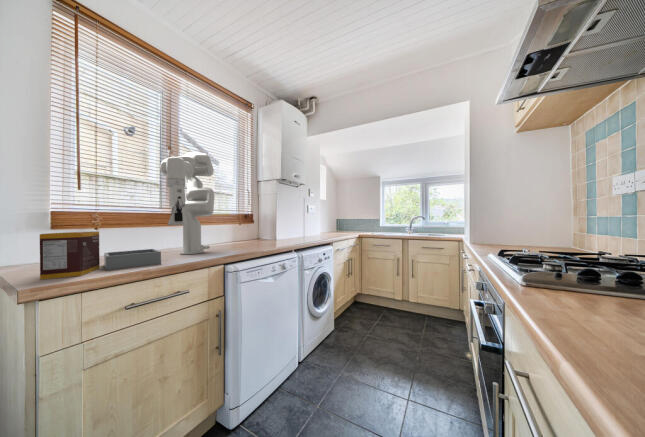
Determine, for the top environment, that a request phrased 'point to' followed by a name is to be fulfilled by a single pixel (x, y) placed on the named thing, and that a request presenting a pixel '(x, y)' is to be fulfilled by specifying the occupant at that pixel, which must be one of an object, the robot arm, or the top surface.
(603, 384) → the top surface
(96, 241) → the supplement box
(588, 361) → the top surface
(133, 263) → the bin
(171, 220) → the flask
